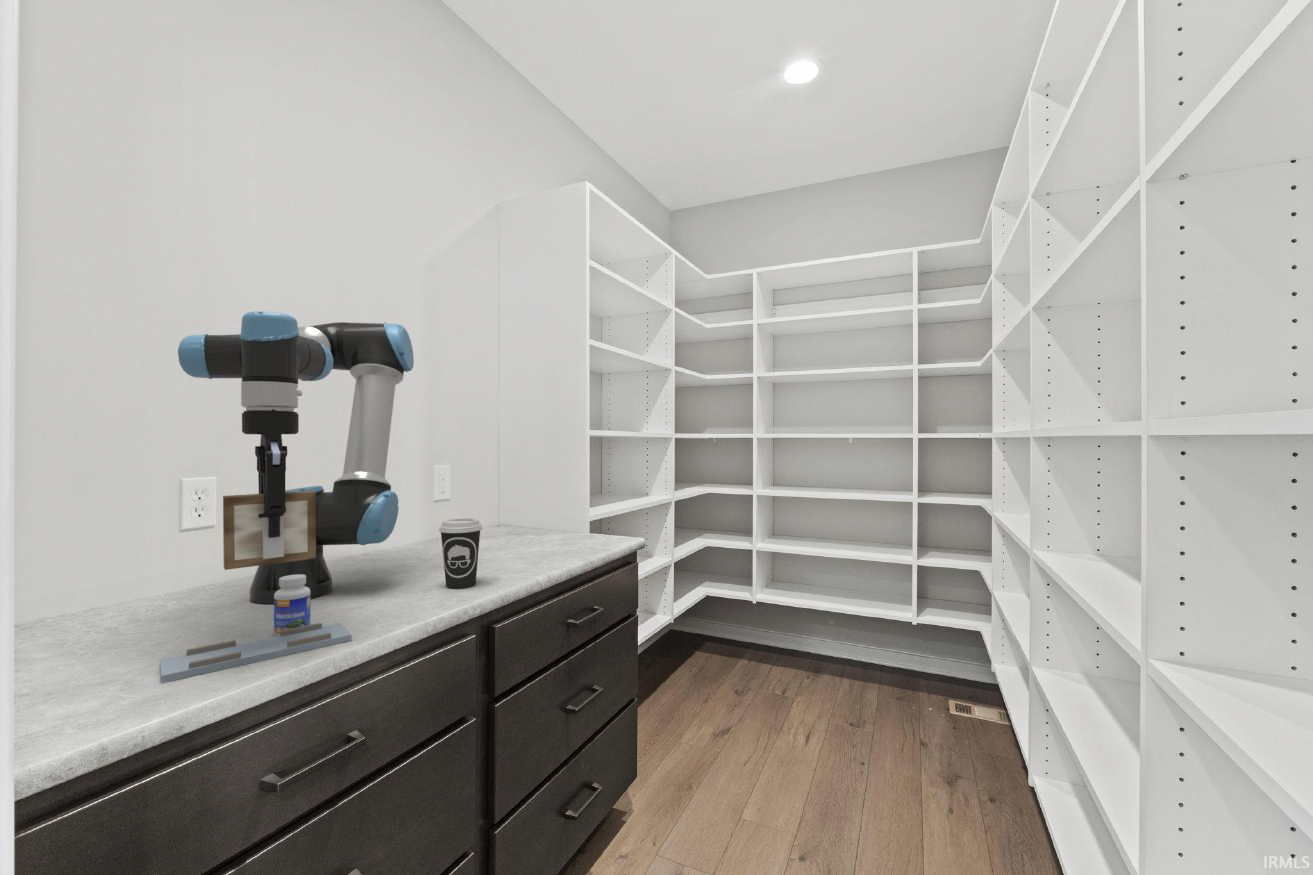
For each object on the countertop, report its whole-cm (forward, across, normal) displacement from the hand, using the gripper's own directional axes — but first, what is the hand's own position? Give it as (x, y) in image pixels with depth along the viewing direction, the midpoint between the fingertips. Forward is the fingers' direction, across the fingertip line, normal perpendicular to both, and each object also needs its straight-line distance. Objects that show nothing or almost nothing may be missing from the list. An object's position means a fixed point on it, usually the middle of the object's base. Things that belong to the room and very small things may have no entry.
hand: (271, 554), depth 90 cm
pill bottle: (+16, +8, -4) cm, 18 cm away
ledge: (+15, 0, +2) cm, 15 cm away
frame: (+1, 0, 0) cm, 1 cm away
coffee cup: (+16, +19, -38) cm, 45 cm away
